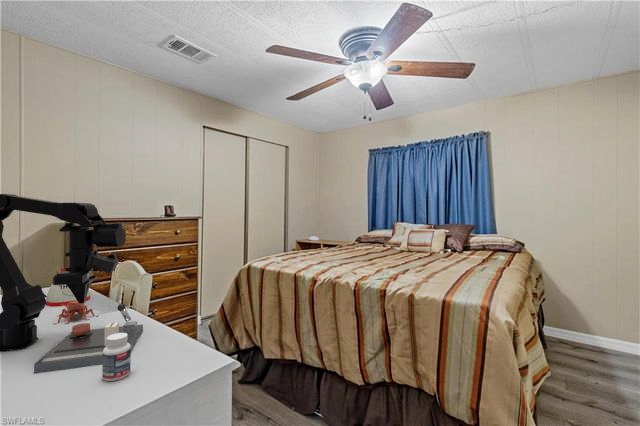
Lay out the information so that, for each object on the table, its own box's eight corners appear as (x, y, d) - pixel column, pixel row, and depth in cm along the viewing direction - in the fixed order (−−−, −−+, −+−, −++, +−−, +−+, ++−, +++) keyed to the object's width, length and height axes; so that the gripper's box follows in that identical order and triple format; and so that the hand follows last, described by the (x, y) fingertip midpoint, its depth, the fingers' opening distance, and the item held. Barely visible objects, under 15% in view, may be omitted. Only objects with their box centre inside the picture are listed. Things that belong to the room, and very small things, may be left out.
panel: (33, 373, 69) (34, 355, 69) (72, 338, 88) (72, 324, 88) (125, 360, 75) (125, 344, 75) (142, 330, 94) (142, 317, 94)
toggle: (124, 323, 88) (115, 307, 87) (126, 321, 90) (117, 305, 89) (131, 319, 89) (122, 303, 88) (133, 317, 91) (124, 301, 90)
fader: (104, 346, 78) (104, 327, 78) (108, 341, 81) (108, 323, 81) (115, 345, 79) (115, 326, 79) (118, 340, 81) (118, 322, 81)
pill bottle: (116, 383, 66) (116, 342, 66) (96, 380, 67) (96, 339, 67) (136, 370, 71) (136, 332, 71) (117, 368, 72) (117, 330, 72)
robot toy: (100, 319, 105) (100, 282, 105) (52, 328, 97) (53, 288, 97) (94, 308, 116) (94, 275, 116) (51, 316, 108) (51, 280, 108)
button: (69, 336, 83) (69, 329, 83) (75, 331, 87) (75, 324, 87) (86, 334, 84) (86, 327, 84) (92, 329, 88) (92, 322, 88)
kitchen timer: (93, 301, 125) (93, 264, 125) (48, 309, 114) (49, 269, 114) (85, 294, 134) (85, 260, 134) (43, 301, 124) (43, 264, 124)
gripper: (104, 250, 79) (104, 310, 79) (124, 243, 97) (124, 292, 97) (51, 252, 76) (51, 315, 76) (82, 244, 93) (82, 295, 93)
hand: (81, 303), depth 86 cm, fingers closed
